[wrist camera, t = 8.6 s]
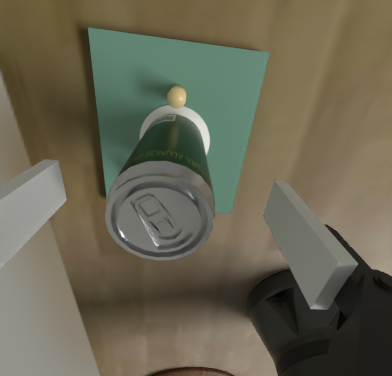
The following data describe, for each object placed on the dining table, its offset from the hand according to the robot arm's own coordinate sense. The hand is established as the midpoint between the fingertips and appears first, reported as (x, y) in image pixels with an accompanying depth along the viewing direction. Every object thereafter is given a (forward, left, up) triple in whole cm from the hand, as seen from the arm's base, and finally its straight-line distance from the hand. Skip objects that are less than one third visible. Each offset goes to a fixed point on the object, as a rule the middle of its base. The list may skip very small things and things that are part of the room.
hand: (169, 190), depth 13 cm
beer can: (0, 0, -8) cm, 8 cm away
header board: (0, 0, -9) cm, 10 cm away
